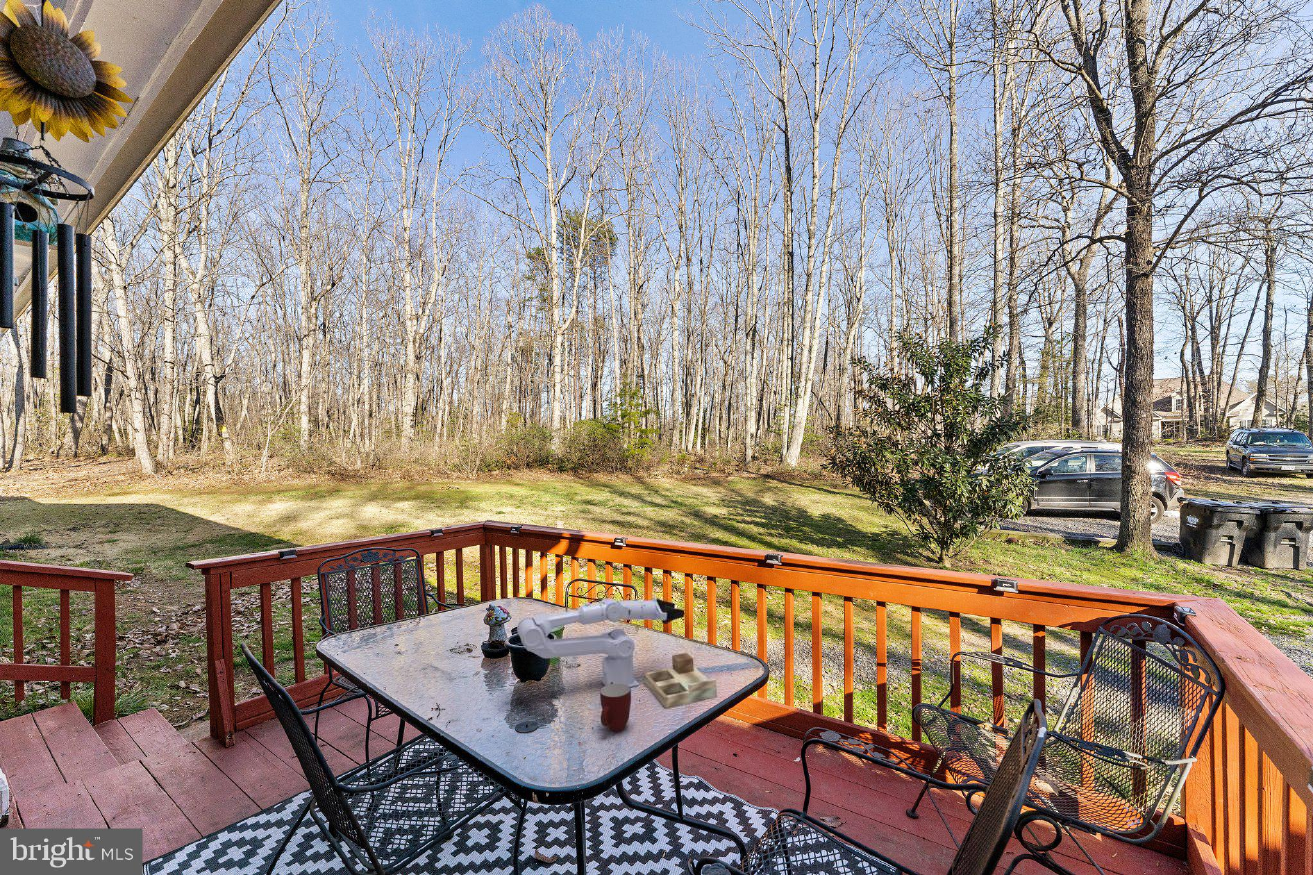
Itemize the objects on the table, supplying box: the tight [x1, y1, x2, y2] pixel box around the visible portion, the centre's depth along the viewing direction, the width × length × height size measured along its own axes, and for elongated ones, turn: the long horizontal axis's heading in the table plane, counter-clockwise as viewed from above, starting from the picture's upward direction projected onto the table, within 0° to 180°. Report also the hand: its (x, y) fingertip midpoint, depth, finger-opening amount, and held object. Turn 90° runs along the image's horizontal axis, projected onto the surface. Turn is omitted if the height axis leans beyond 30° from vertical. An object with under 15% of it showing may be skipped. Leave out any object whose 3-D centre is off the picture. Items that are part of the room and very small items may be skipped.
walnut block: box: [671, 652, 695, 674], centre depth 176 cm, size 5×5×4 cm
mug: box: [599, 683, 632, 732], centre depth 148 cm, size 10×8×10 cm
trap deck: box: [643, 666, 718, 710], centre depth 169 cm, size 16×18×5 cm
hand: (679, 610), depth 183 cm, fingers open, 7 cm apart
